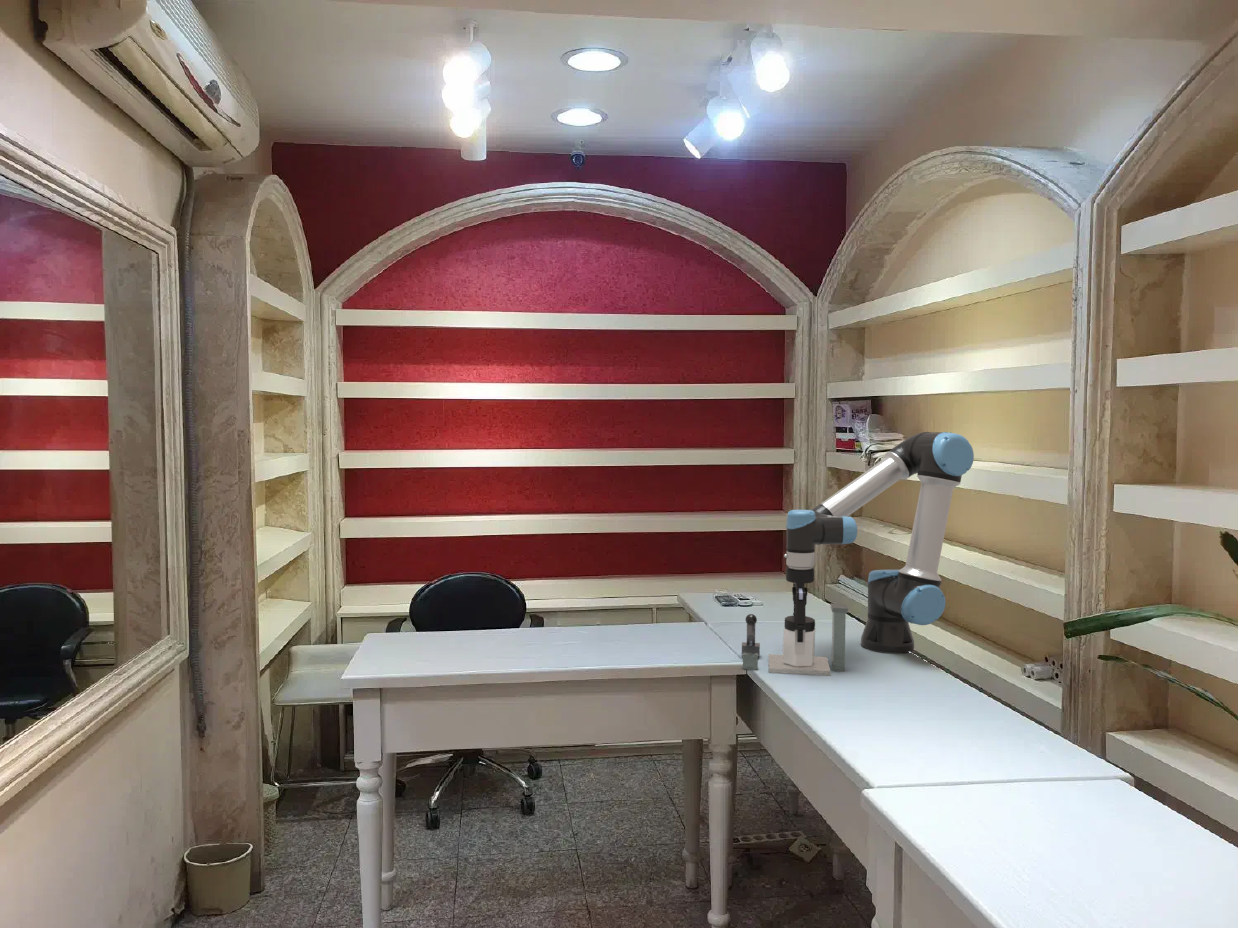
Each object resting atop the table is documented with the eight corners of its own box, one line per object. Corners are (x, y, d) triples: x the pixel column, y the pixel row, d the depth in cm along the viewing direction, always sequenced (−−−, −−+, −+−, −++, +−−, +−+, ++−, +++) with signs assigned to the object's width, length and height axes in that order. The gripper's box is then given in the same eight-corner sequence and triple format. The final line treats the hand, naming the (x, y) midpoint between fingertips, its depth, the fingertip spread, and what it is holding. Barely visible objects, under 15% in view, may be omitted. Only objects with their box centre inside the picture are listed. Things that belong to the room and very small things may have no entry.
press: (842, 658, 247) (843, 598, 246) (848, 676, 230) (849, 611, 230) (743, 654, 252) (744, 594, 251) (742, 671, 235) (743, 607, 234)
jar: (821, 663, 238) (822, 620, 237) (802, 669, 233) (803, 624, 232) (795, 655, 245) (796, 613, 244) (776, 660, 240) (777, 617, 239)
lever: (759, 651, 251) (760, 612, 250) (759, 654, 247) (760, 616, 246) (742, 650, 252) (742, 612, 251) (741, 654, 248) (742, 615, 247)
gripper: (784, 560, 249) (783, 637, 251) (787, 573, 228) (786, 658, 229) (811, 560, 248) (810, 639, 249) (816, 574, 227) (815, 660, 228)
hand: (798, 648), depth 239 cm, fingers open, 9 cm apart
